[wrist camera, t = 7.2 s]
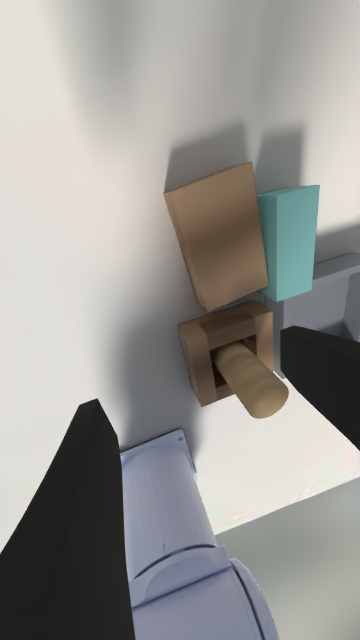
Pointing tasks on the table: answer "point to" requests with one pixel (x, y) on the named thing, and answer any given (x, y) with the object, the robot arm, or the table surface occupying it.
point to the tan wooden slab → (220, 235)
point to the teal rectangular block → (288, 239)
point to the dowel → (250, 379)
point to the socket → (220, 330)
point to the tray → (322, 304)
